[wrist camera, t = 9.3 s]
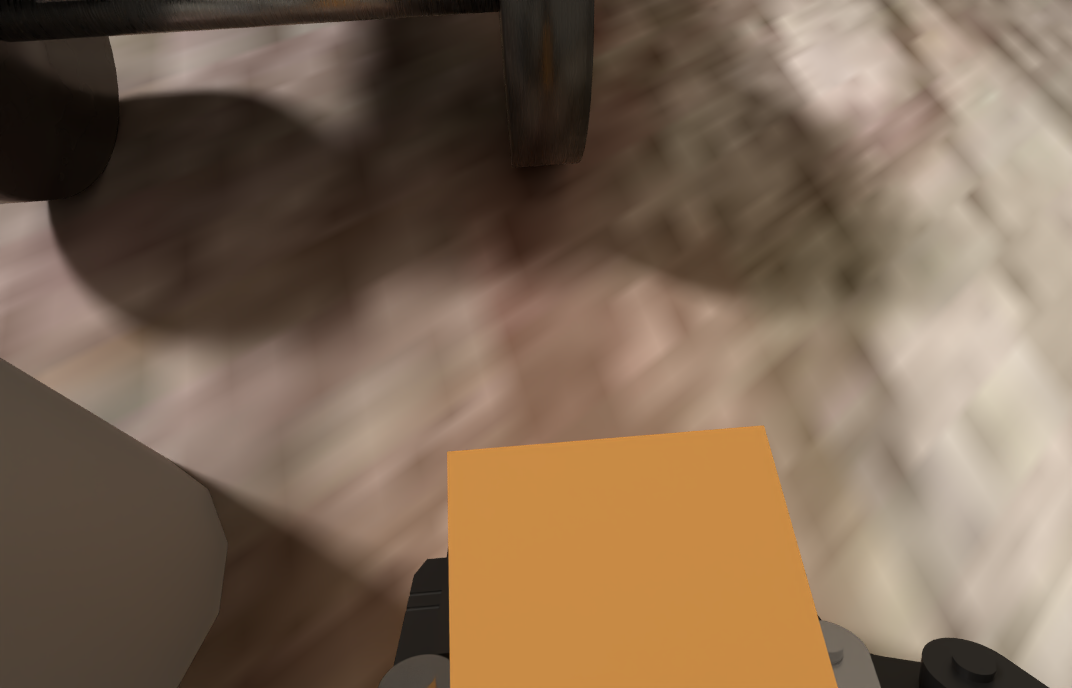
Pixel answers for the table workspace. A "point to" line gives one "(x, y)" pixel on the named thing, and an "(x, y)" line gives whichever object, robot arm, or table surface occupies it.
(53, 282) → the table surface
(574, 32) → the trolley
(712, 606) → the orange rectangular block
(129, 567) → the cup
